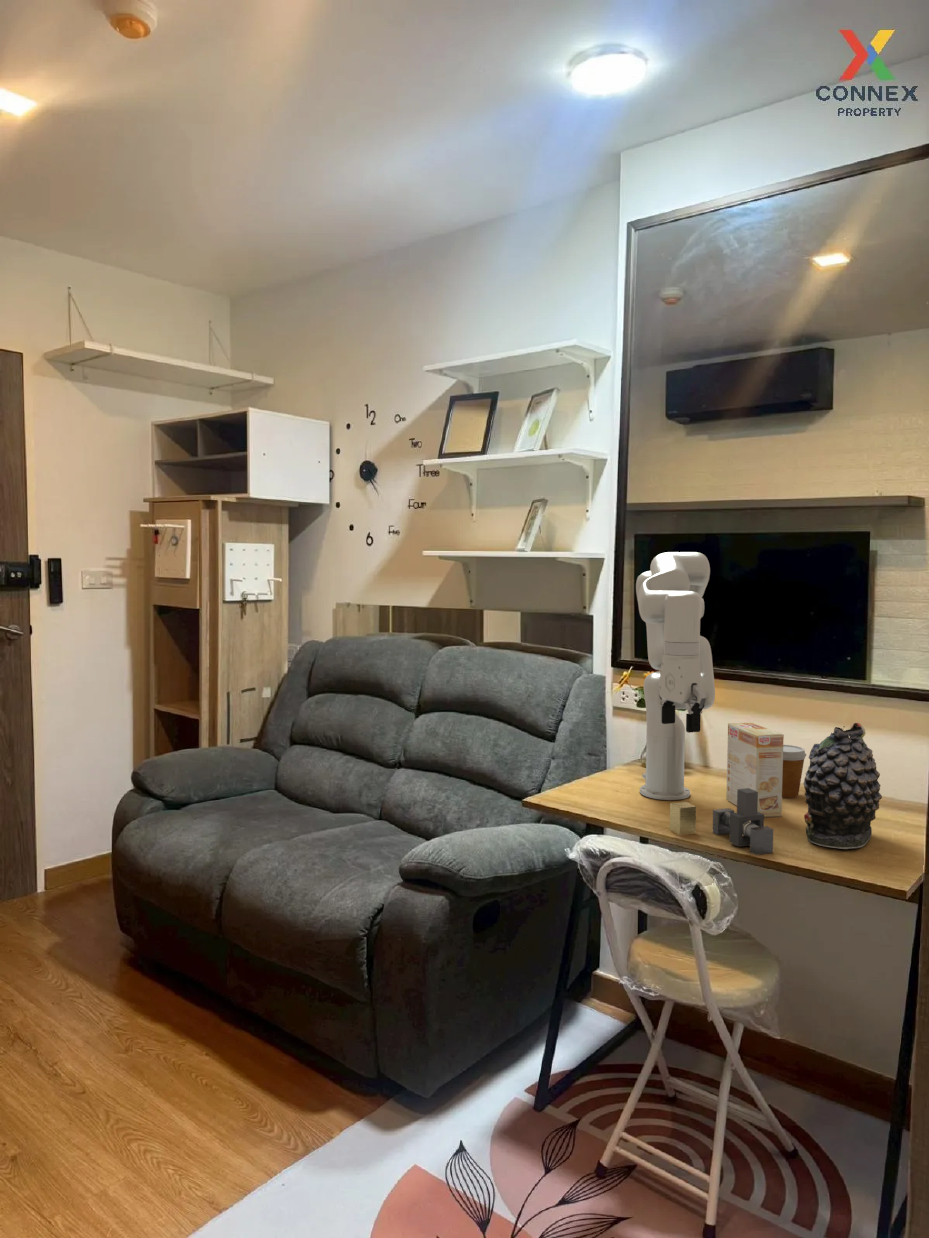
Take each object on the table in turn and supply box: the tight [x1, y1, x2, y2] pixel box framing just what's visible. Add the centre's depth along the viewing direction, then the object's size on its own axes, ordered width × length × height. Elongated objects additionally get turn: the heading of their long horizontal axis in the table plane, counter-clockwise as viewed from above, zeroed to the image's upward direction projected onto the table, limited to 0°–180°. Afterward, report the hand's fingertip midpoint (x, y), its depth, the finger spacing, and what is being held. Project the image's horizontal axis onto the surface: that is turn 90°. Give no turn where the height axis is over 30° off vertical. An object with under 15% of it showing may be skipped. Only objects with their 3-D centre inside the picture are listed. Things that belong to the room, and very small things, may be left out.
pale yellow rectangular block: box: [669, 801, 697, 836], centre depth 183 cm, size 4×4×6 cm
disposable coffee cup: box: [782, 744, 807, 799], centre depth 211 cm, size 10×10×12 cm
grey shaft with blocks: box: [712, 807, 774, 856], centre depth 176 cm, size 15×4×5 cm, turn 18°
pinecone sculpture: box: [803, 722, 883, 850], centre depth 177 cm, size 21×15×25 cm
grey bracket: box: [729, 788, 765, 848], centre depth 174 cm, size 3×6×11 cm, turn 108°
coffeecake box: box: [725, 722, 785, 818], centre depth 200 cm, size 15×7×20 cm, turn 8°
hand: (680, 727), depth 181 cm, fingers open, 9 cm apart
